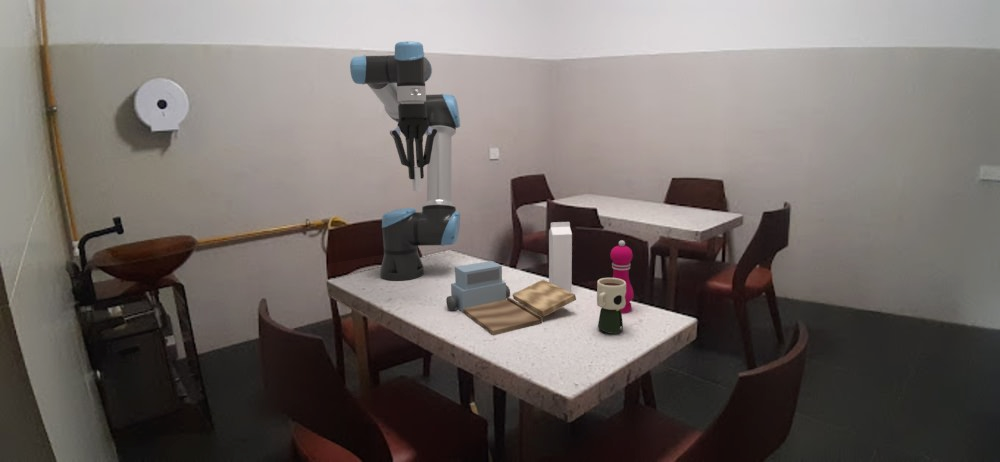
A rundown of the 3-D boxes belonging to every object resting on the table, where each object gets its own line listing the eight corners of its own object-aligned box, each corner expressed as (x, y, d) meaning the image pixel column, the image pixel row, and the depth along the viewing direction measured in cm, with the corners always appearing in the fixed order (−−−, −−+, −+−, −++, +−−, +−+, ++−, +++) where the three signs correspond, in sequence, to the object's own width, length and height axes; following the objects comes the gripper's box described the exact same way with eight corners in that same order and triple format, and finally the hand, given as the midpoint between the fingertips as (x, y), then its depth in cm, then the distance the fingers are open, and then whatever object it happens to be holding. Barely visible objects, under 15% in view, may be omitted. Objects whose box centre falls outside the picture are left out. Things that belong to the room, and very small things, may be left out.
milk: (571, 293, 159) (572, 223, 154) (552, 294, 158) (552, 224, 154) (567, 287, 165) (568, 219, 160) (548, 287, 164) (548, 220, 159)
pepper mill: (618, 315, 140) (620, 244, 136) (601, 307, 147) (603, 239, 142) (638, 310, 144) (641, 241, 139) (621, 303, 150) (623, 236, 145)
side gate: (512, 294, 150) (542, 279, 154) (513, 299, 151) (544, 284, 155) (542, 311, 136) (575, 294, 141) (543, 316, 137) (576, 299, 141)
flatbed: (463, 312, 145) (462, 306, 145) (508, 302, 152) (508, 297, 151) (492, 335, 129) (492, 328, 129) (542, 323, 136) (542, 316, 136)
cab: (444, 305, 151) (442, 267, 148) (500, 294, 159) (499, 258, 157) (455, 314, 144) (453, 274, 141) (513, 301, 153) (513, 264, 150)
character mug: (611, 341, 125) (613, 290, 122) (586, 333, 129) (587, 284, 126) (633, 327, 132) (635, 279, 130) (609, 320, 137) (610, 274, 134)
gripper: (392, 102, 131) (398, 194, 136) (440, 102, 137) (444, 190, 142) (384, 103, 137) (390, 191, 143) (429, 103, 143) (434, 187, 149)
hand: (417, 190), depth 142 cm, fingers closed
